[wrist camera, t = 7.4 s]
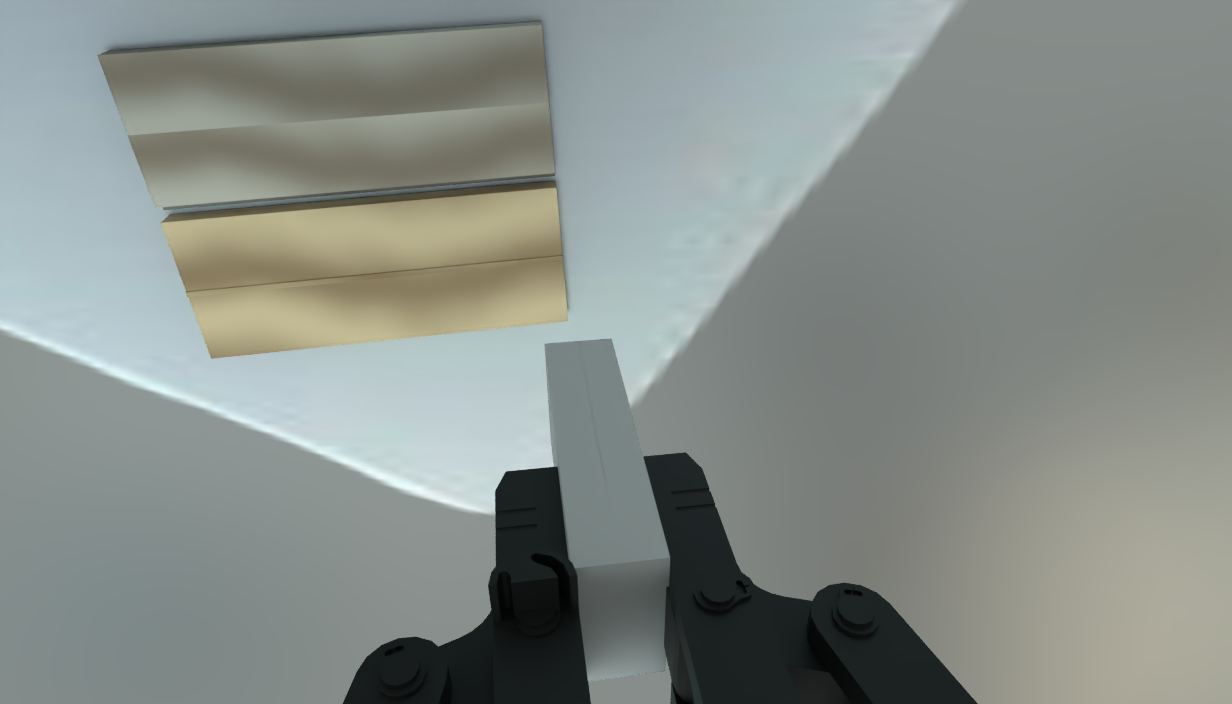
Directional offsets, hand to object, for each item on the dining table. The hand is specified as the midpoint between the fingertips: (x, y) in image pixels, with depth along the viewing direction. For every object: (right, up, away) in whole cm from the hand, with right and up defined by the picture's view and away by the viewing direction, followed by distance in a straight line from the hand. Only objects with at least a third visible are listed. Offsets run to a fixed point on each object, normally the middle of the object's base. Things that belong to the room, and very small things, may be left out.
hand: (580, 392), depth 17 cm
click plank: (-12, +6, +25) cm, 28 cm away
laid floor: (-13, +13, +20) cm, 27 cm away
